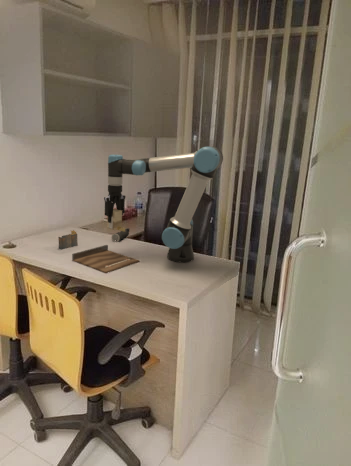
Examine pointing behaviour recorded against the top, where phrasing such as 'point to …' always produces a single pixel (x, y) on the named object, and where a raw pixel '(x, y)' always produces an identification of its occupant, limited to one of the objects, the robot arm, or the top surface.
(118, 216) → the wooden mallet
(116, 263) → the board
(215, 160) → the robot arm
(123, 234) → the flashlight
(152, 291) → the top surface
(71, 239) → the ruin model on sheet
